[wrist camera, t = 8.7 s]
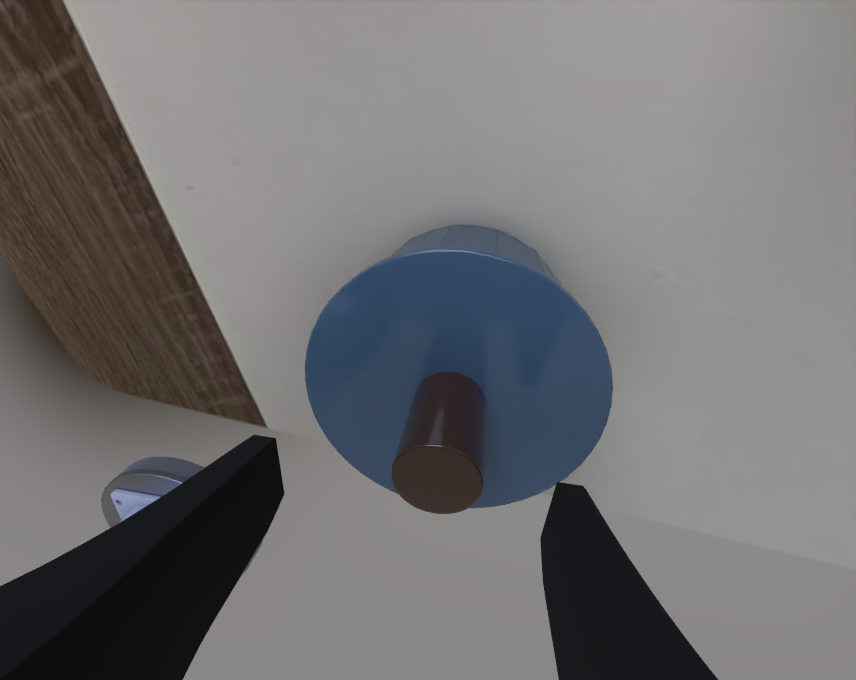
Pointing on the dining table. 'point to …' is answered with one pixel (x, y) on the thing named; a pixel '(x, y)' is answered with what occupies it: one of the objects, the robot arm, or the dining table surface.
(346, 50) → the dining table surface
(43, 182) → the dining table surface
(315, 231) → the dining table surface
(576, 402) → the lid
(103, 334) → the dining table surface
